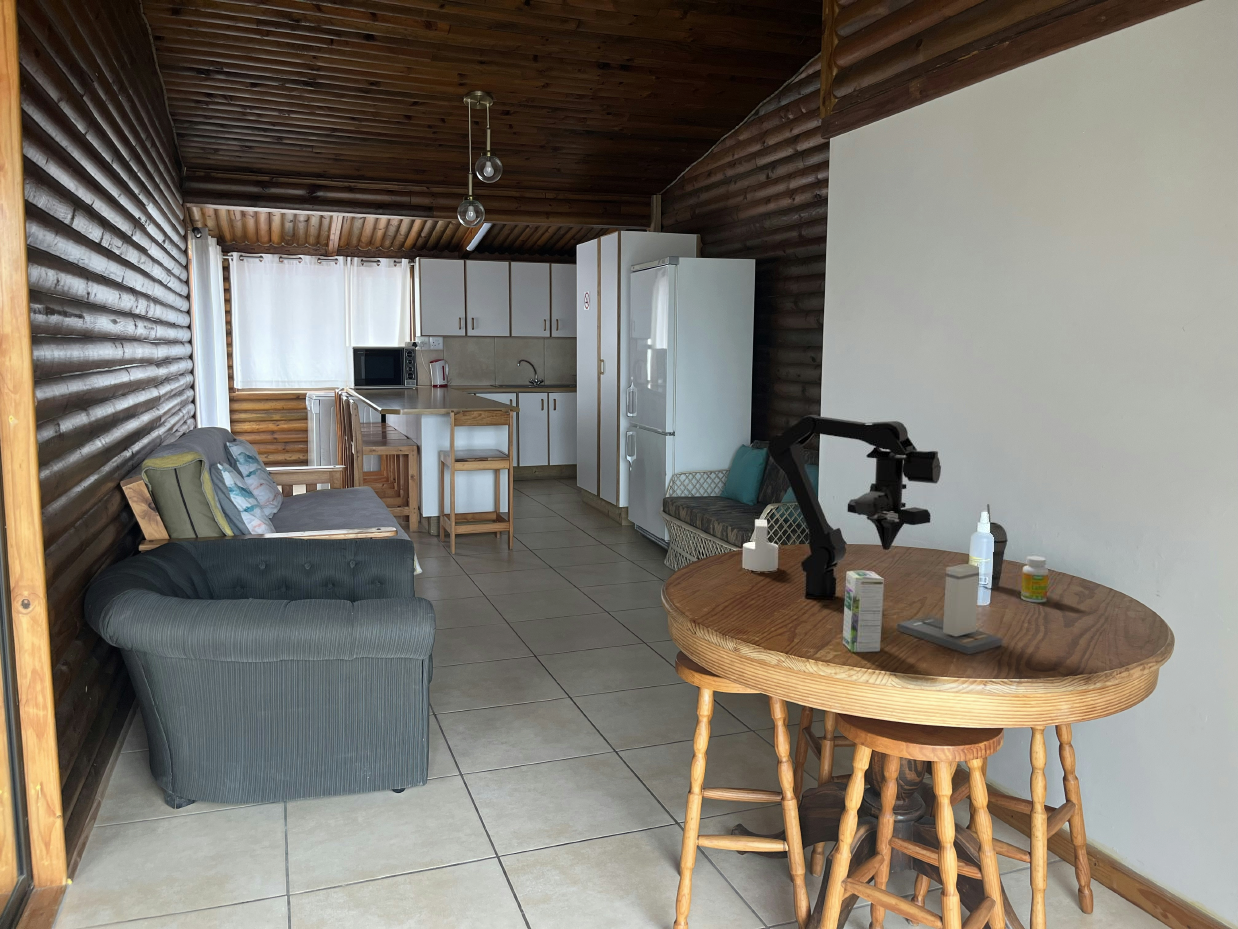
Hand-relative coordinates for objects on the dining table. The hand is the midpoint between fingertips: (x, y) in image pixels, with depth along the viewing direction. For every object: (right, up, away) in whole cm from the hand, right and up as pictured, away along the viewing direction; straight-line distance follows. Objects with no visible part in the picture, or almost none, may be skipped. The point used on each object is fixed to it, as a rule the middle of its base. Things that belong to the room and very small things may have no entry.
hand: (886, 549), depth 199 cm
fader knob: (+8, -14, -21) cm, 27 cm away
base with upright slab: (-22, -8, +36) cm, 43 cm away
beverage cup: (+31, -11, +20) cm, 38 cm away
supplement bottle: (+36, -12, +8) cm, 39 cm away
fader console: (+7, -16, -19) cm, 26 cm away
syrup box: (-12, -17, -25) cm, 32 cm away
